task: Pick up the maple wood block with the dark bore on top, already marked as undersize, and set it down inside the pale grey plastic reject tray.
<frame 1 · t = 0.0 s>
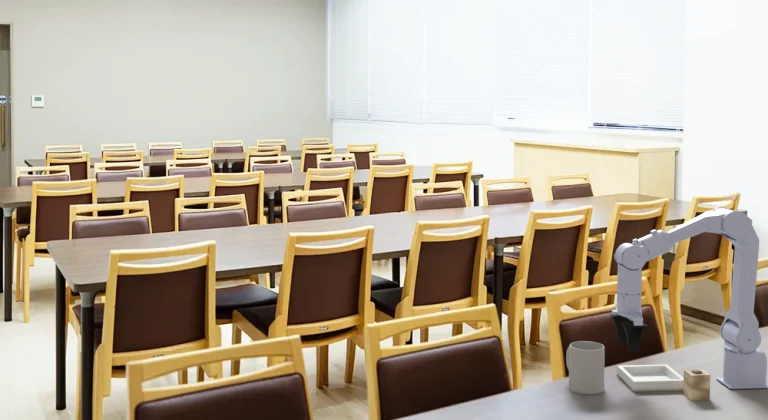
hand: (628, 347, 205), 10 cm above the table, tool pointing down, fingers open, 7 cm apart
bore block: (696, 396, 199), on the table
mug: (581, 387, 207), on the table
reject tray: (650, 382, 210), on the table
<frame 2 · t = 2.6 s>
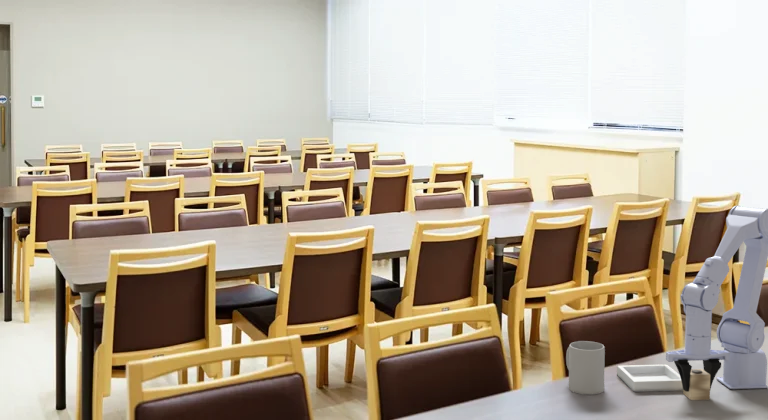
hand: (696, 389, 199), 2 cm above the table, tool pointing down, fingers closed on bore block, 4 cm apart
bore block: (696, 396, 199), on the table, touching gripper
everything else where it was.
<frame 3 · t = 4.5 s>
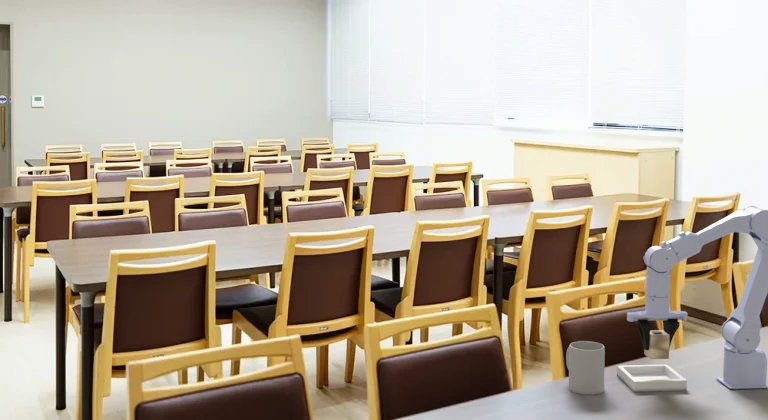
hand: (656, 348, 207), 9 cm above the table, tool pointing down, fingers closed on bore block, 4 cm apart
bore block: (656, 356, 207), point 7 cm above the table, touching gripper
everything else where it was.
when the fingers open (4 cm above the table, at t = 6.5 s): bore block drops 1 cm, resting on reject tray.
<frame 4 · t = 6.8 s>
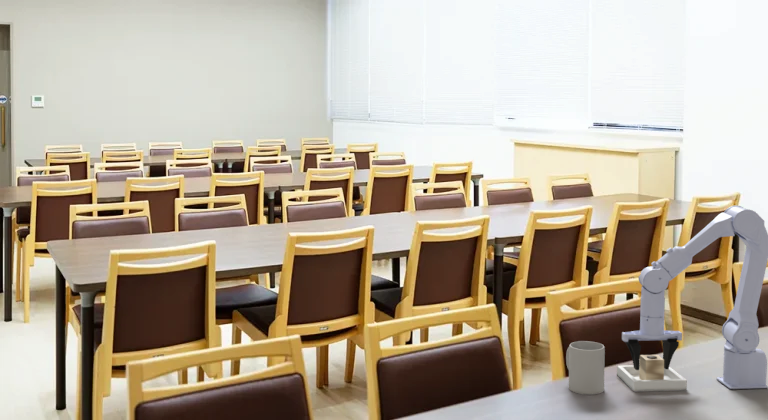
hand: (651, 368, 209), 4 cm above the table, tool pointing down, fingers open, 7 cm apart
bore block: (651, 380, 209), resting on reject tray
everything else where it was.
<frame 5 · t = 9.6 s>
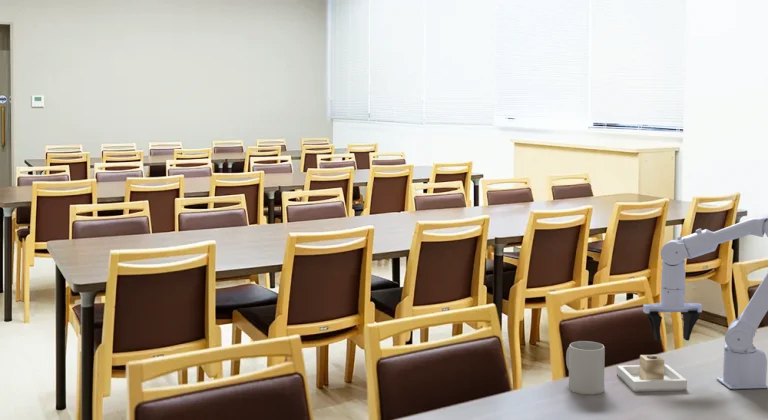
hand: (671, 339, 214), 9 cm above the table, tool pointing down, fingers open, 7 cm apart
nothing on the table moved.
at the end: bore block inside the target area on the reject tray (0.2 cm from its centre), point 0.5 cm above the reject tray's base; bore block tilted 0°; the gripper is holding nothing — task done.
